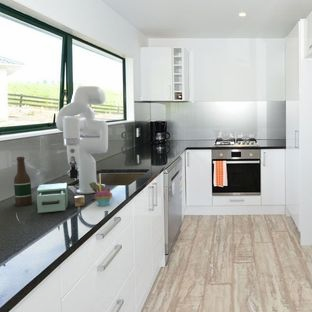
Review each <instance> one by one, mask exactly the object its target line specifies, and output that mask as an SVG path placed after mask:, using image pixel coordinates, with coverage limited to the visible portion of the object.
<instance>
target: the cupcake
mask: <svg viewBox="0 0 312 312" xmlns="http://www.w3.org/2000/svg"><path fill="white" fill-rule="evenodd" d="M97 184H98V185H99V189H100V191H99V192H97V193H94V195H93V199H94V200H96V202H97V205H98V206H99V207H105V206H108V205H109V204H110V200H111V199H112V198H113V192H111V191H110V192H109V191H101V187H100V184H101V183H100V182H99V181H97Z"/></svg>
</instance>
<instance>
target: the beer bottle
mask: <svg viewBox="0 0 312 312" xmlns="http://www.w3.org/2000/svg"><path fill="white" fill-rule="evenodd" d="M16 160H17V162H16V163H17V164H16V165H17V167H16V168H17V169H16V170H17V172H16V174H15V176H14V179H13V188H14V201H15V206H19V207H23V206H29V205H32V204H33V195H32V182H31V177H30V175H29V174H28V172H27V169H26V162H25V156H17V157H16Z"/></svg>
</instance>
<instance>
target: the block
mask: <svg viewBox="0 0 312 312" xmlns="http://www.w3.org/2000/svg"><path fill="white" fill-rule="evenodd" d="M85 206H86V202H85V194H81V195H74V207H85Z"/></svg>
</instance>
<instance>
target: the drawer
mask: <svg viewBox="0 0 312 312" xmlns="http://www.w3.org/2000/svg"><path fill="white" fill-rule="evenodd" d="M36 207H37V213H38V214H41V213H50V212H51V213H52V212H59V211H60V212H62V211H66V210H67V209H66V208H65V193H64V190H56V191H43V192H40V194H39V195H38V196H37V195H36Z"/></svg>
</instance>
